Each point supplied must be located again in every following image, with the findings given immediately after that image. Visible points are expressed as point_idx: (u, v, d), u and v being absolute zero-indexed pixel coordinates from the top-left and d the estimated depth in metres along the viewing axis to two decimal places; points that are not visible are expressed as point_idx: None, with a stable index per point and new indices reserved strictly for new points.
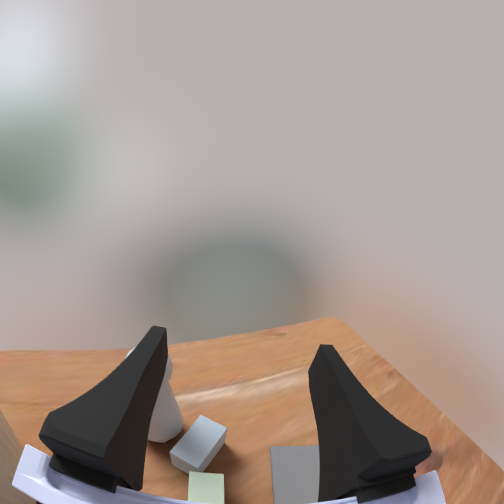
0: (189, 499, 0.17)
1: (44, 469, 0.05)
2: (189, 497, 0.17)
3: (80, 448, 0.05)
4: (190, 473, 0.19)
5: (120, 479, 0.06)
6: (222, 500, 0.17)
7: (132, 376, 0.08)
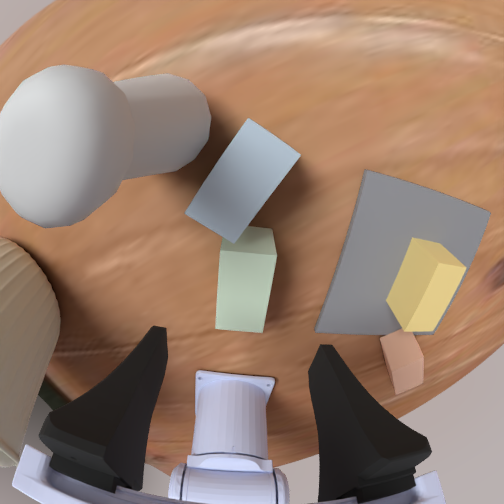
0: (219, 296, 0.17)
1: (44, 469, 0.05)
2: (219, 293, 0.17)
3: (80, 448, 0.05)
4: (221, 254, 0.16)
5: (120, 478, 0.06)
6: (266, 298, 0.17)
7: (132, 376, 0.08)
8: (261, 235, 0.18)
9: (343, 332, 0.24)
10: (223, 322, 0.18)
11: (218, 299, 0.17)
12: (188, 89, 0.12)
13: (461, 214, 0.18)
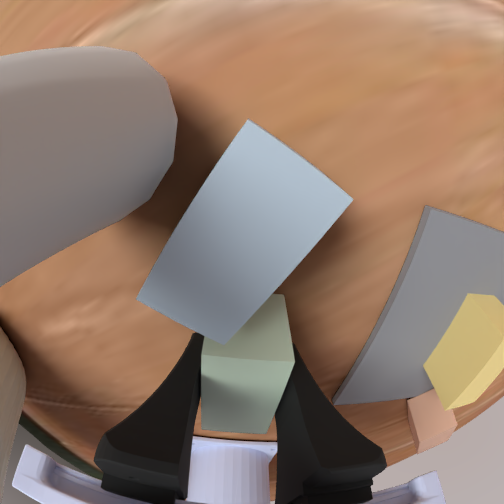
0: (204, 403, 0.10)
1: (44, 469, 0.05)
2: (204, 400, 0.10)
3: (150, 469, 0.05)
4: (204, 360, 0.09)
5: (176, 491, 0.06)
6: (274, 406, 0.11)
7: (185, 386, 0.09)
8: (268, 313, 0.11)
9: (367, 401, 0.17)
10: (212, 425, 0.11)
11: (203, 405, 0.11)
12: (124, 66, 0.05)
13: None
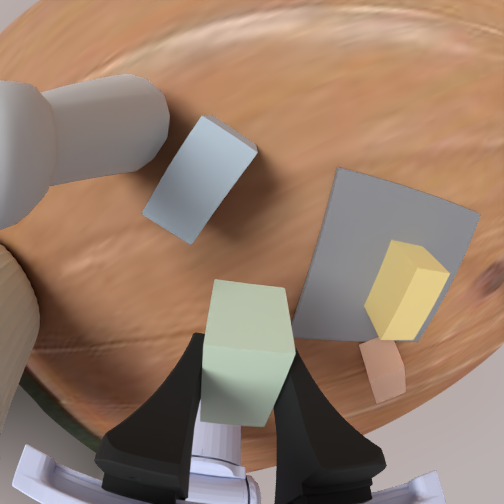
0: (204, 394, 0.11)
1: (44, 469, 0.05)
2: (204, 391, 0.11)
3: (151, 469, 0.05)
4: (206, 350, 0.09)
5: (177, 492, 0.06)
6: (273, 398, 0.11)
7: (186, 386, 0.09)
8: (269, 305, 0.12)
9: (318, 337, 0.23)
10: (211, 417, 0.12)
11: (203, 396, 0.11)
12: (143, 88, 0.11)
13: (447, 215, 0.18)
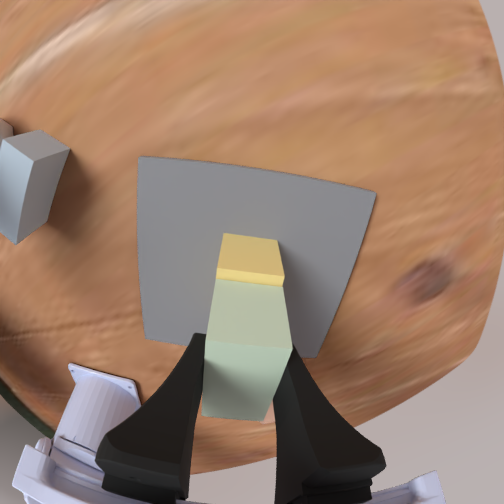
0: (205, 388, 0.11)
1: (44, 469, 0.05)
2: (205, 385, 0.11)
3: (151, 469, 0.05)
4: (208, 345, 0.10)
5: (177, 492, 0.06)
6: (272, 392, 0.11)
7: (186, 386, 0.09)
8: (268, 304, 0.12)
9: (176, 342, 0.21)
10: (212, 411, 0.12)
11: (204, 391, 0.11)
12: None
13: (309, 197, 0.16)
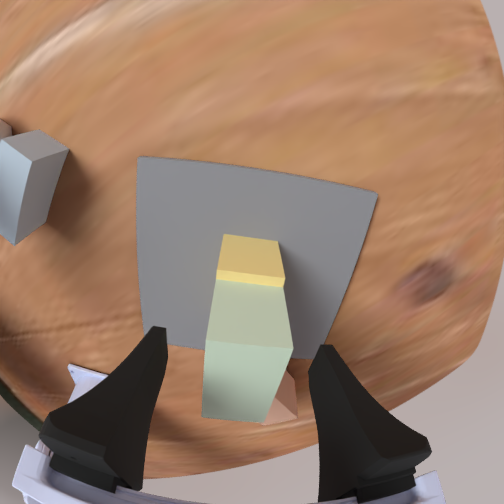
0: (206, 389, 0.11)
1: (44, 469, 0.05)
2: (206, 386, 0.11)
3: (80, 448, 0.05)
4: (208, 345, 0.10)
5: (120, 479, 0.06)
6: (272, 393, 0.11)
7: (132, 376, 0.08)
8: (268, 304, 0.12)
9: (176, 344, 0.21)
10: (212, 412, 0.12)
11: (204, 391, 0.11)
12: None
13: (310, 198, 0.16)
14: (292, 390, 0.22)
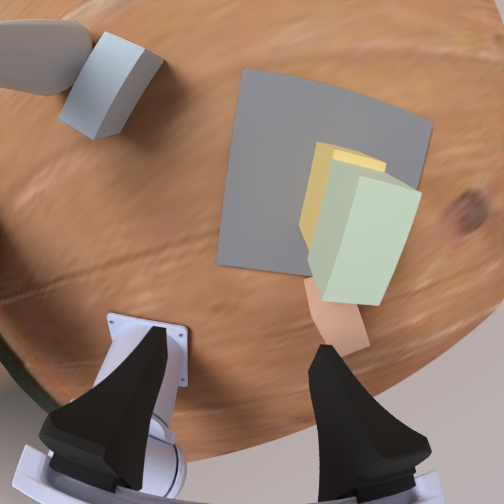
0: (342, 248, 0.12)
1: (44, 469, 0.05)
2: (343, 243, 0.12)
3: (80, 447, 0.05)
4: (361, 182, 0.10)
5: (120, 479, 0.06)
6: (398, 254, 0.12)
7: (132, 376, 0.08)
8: (383, 174, 0.13)
9: (251, 266, 0.21)
10: (336, 290, 0.13)
11: (339, 253, 0.12)
12: (67, 23, 0.10)
13: (385, 118, 0.16)
14: None
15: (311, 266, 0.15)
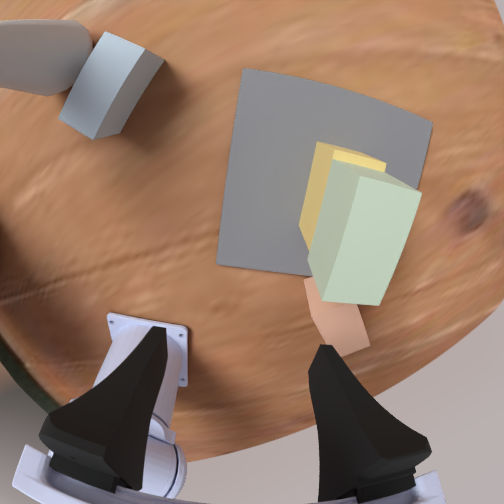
0: (342, 248, 0.12)
1: (44, 469, 0.05)
2: (343, 243, 0.12)
3: (80, 447, 0.05)
4: (361, 182, 0.10)
5: (120, 479, 0.06)
6: (398, 254, 0.12)
7: (132, 376, 0.08)
8: (383, 174, 0.13)
9: (251, 266, 0.21)
10: (336, 290, 0.13)
11: (339, 253, 0.12)
12: (67, 23, 0.10)
13: (385, 118, 0.16)
14: None
15: (311, 266, 0.15)
